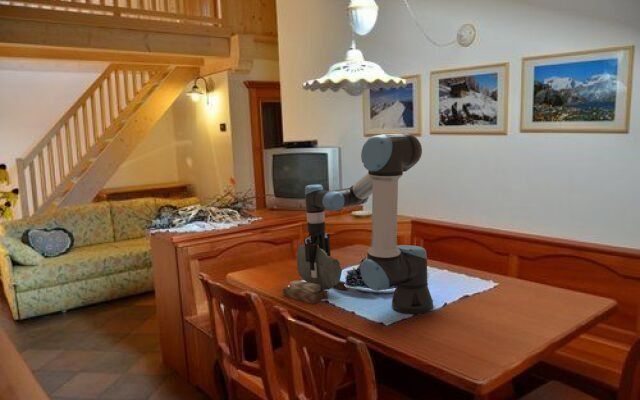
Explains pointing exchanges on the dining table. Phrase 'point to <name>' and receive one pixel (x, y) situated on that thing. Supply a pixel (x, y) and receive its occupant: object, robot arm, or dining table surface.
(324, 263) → the rock
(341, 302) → the dining table surface
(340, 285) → the walnut rack
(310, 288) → the offcut stack
